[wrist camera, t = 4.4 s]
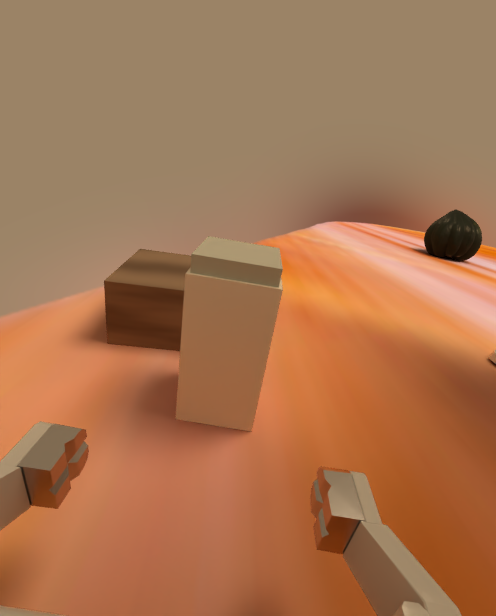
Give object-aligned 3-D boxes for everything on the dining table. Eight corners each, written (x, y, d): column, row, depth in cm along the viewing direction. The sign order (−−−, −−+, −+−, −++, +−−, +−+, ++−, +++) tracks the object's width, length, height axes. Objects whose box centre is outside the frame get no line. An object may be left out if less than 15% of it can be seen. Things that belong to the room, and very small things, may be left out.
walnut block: (140, 299, 34) (140, 248, 32) (225, 309, 36) (231, 261, 33) (107, 345, 25) (104, 280, 23) (223, 357, 27) (231, 296, 24)
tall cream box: (193, 372, 24) (206, 235, 19) (254, 382, 24) (282, 247, 19) (175, 419, 19) (186, 254, 15) (251, 431, 19) (286, 270, 15)
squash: (488, 250, 82) (494, 207, 86) (428, 240, 87) (437, 199, 91) (464, 274, 95) (471, 235, 99) (413, 264, 100) (422, 227, 104)
